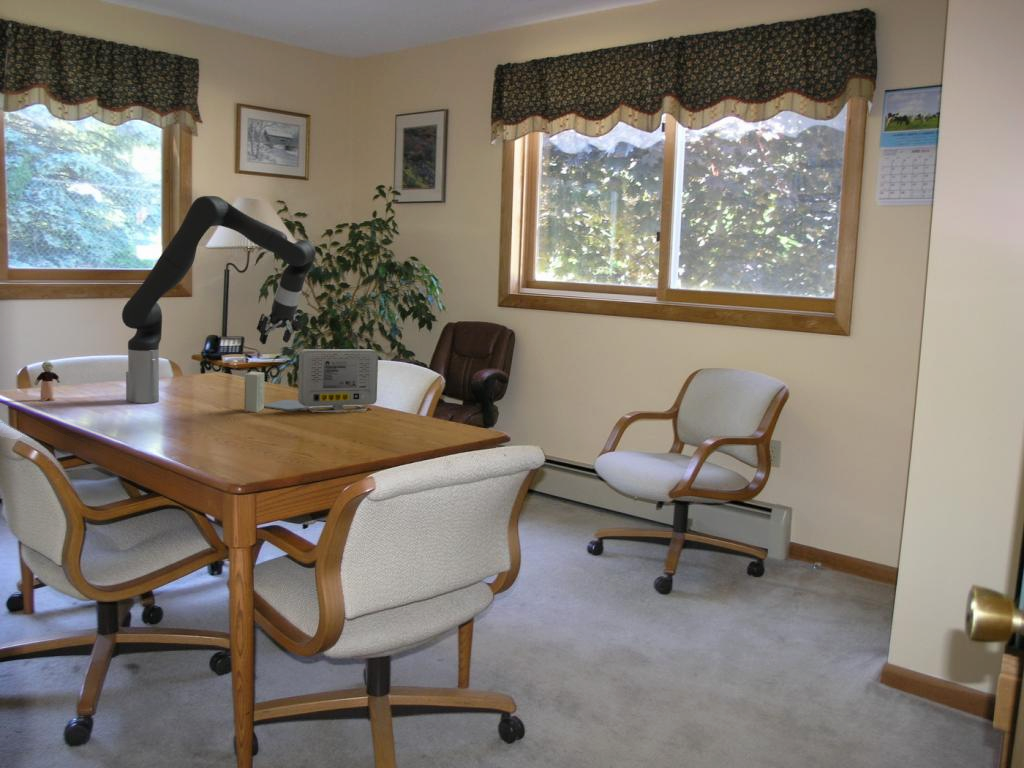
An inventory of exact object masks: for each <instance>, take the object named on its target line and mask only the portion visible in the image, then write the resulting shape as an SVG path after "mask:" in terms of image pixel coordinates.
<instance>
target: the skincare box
mask: <svg viewBox="0 0 1024 768" xmlns="http://www.w3.org/2000/svg"><path fill="white" fill-rule="evenodd" d="M243 395H244V397H243V400H244V401H243V402H244V403H243V404H244V405H243V406H244V407H243V410H244V412H248V411H249V412H250V413H257V412H261V411H262V410H264V409H265V408H264V404H265V372H260V371H259V372H258V371H250V372H247V373H245V374H244V394H243ZM249 412H248V413H249Z"/></svg>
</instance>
